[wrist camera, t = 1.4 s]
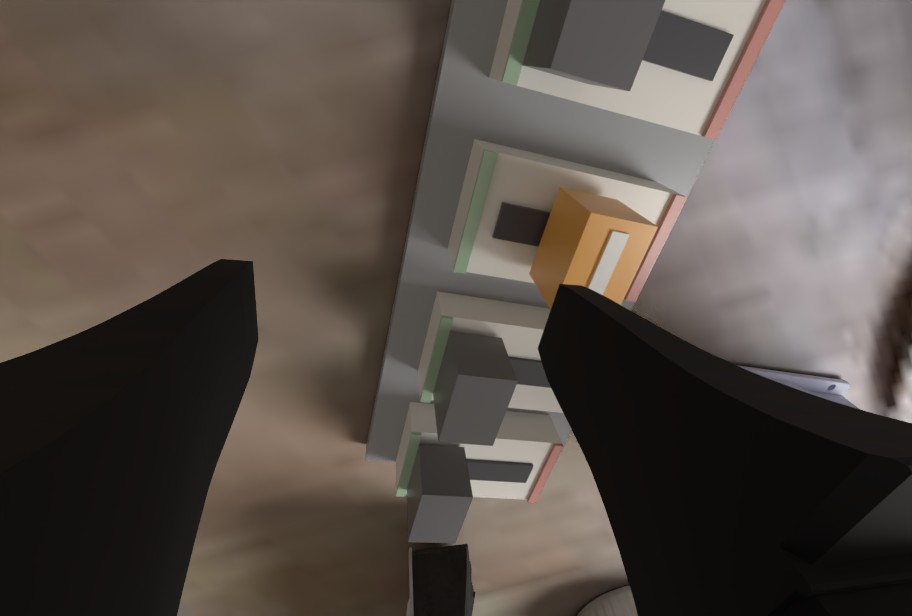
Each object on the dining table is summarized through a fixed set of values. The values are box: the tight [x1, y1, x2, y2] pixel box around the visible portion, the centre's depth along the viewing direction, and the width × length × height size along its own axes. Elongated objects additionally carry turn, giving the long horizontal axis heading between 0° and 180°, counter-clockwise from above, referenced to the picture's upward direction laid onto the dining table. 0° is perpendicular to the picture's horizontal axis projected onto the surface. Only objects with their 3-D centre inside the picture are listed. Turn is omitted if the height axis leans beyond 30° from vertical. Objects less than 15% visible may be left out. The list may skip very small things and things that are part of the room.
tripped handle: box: [529, 187, 658, 309], centre depth 16 cm, size 2×4×3 cm, turn 166°
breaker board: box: [365, 0, 785, 543], centre depth 19 cm, size 12×26×7 cm, turn 166°
